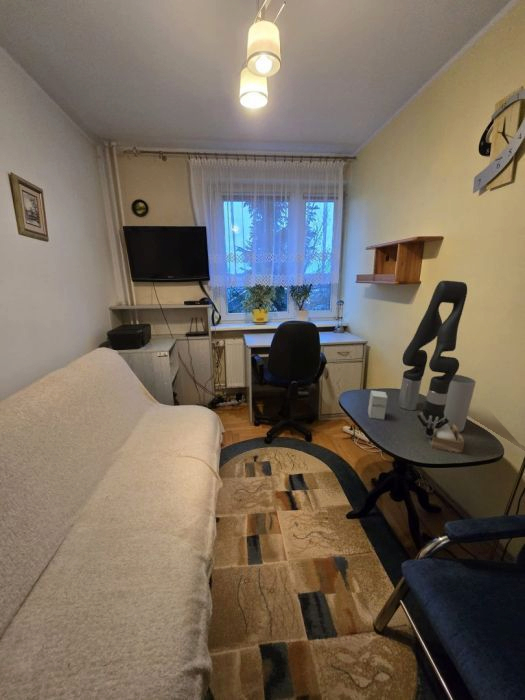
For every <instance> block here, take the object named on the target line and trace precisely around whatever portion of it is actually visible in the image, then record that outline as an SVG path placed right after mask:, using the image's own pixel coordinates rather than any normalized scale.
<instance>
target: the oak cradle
mask: <svg viewBox="0 0 525 700" xmlns="http://www.w3.org/2000/svg"><path fill="white" fill-rule="evenodd" d="M449 427H450V428H451V430H452V432H453V434H454V436H455V438H456V440H457V441H456V440H451V439H445V438H440V437H437V434H436V433H434V432H433V435H432V438H431V436H427V435H426V436H427V440H428V442H429V444H430V447H431V448H432V449H436V450H441V451H442V450H443V451H446V450H448V451H447V452H452V451H455V452H454V453H457V452H462V453H463V449H464V445H465V440H464V437H463V436H462V434H461V431H460V432H459V431H458V429H457V427H456V425H455V424H452V426H449ZM425 431H426V429H425ZM425 431H424V432H425Z"/></svg>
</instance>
